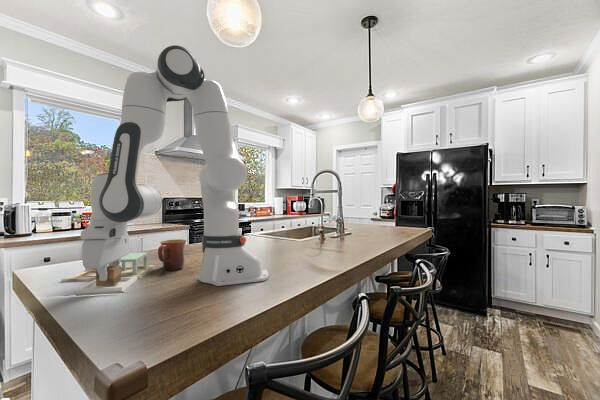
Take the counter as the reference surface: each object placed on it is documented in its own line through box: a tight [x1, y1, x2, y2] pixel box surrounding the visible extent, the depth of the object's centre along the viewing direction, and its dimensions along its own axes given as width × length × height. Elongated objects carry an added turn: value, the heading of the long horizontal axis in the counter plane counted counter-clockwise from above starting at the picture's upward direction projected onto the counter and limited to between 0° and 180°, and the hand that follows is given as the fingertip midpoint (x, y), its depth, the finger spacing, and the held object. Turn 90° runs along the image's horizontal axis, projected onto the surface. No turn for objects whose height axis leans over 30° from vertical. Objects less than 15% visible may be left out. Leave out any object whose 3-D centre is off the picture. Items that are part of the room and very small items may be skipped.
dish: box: [75, 276, 138, 297], centre depth 80 cm, size 11×11×2 cm
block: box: [96, 265, 122, 286], centre depth 80 cm, size 4×4×4 cm
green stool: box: [108, 252, 149, 275], centre depth 94 cm, size 8×11×8 cm
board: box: [60, 264, 156, 283], centre depth 93 cm, size 22×14×1 cm, turn 101°
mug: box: [157, 238, 187, 272], centre depth 101 cm, size 12×9×10 cm
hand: (109, 277), depth 80 cm, fingers open, 5 cm apart
